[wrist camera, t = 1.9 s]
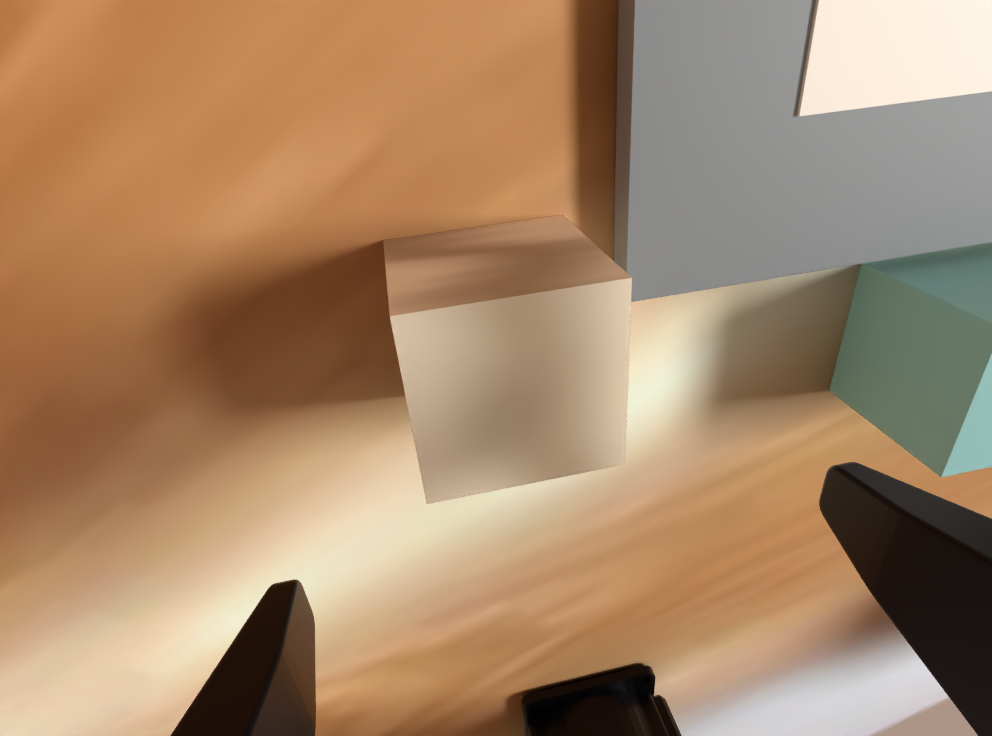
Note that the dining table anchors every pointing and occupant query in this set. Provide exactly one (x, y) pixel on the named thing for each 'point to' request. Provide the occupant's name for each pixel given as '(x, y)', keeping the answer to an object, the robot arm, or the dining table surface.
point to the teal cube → (924, 355)
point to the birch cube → (510, 353)
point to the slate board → (797, 136)
